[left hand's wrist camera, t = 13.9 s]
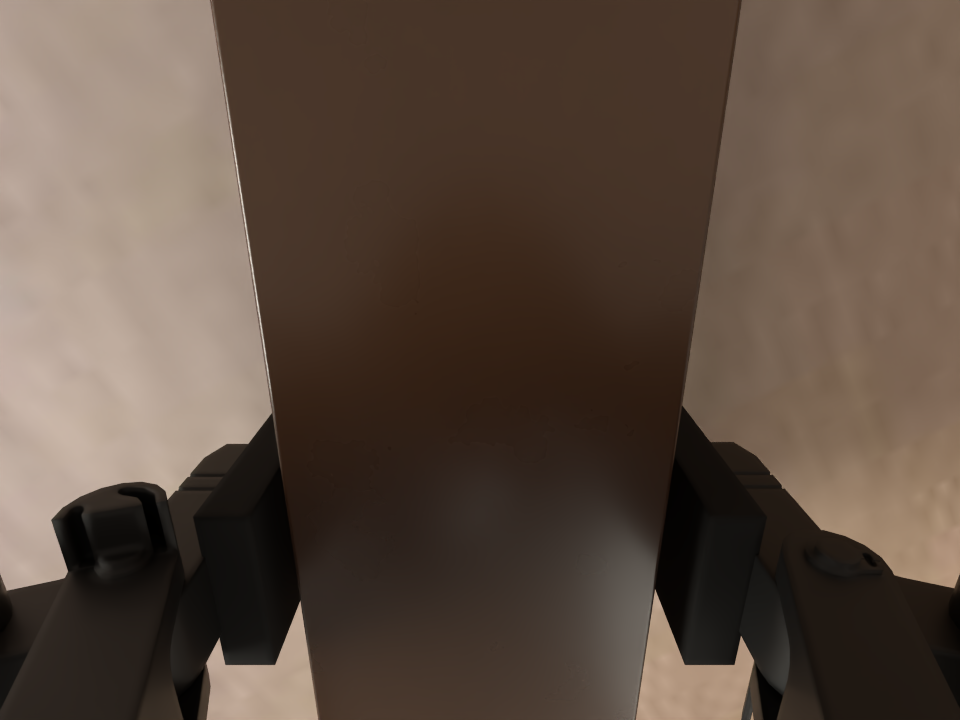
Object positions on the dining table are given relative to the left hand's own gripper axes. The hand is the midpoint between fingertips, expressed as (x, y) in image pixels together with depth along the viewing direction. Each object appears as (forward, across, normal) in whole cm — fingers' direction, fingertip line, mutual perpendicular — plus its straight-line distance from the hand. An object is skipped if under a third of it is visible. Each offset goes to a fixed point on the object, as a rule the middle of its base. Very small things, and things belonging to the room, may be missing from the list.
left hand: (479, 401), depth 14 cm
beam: (0, 0, -10) cm, 10 cm away
